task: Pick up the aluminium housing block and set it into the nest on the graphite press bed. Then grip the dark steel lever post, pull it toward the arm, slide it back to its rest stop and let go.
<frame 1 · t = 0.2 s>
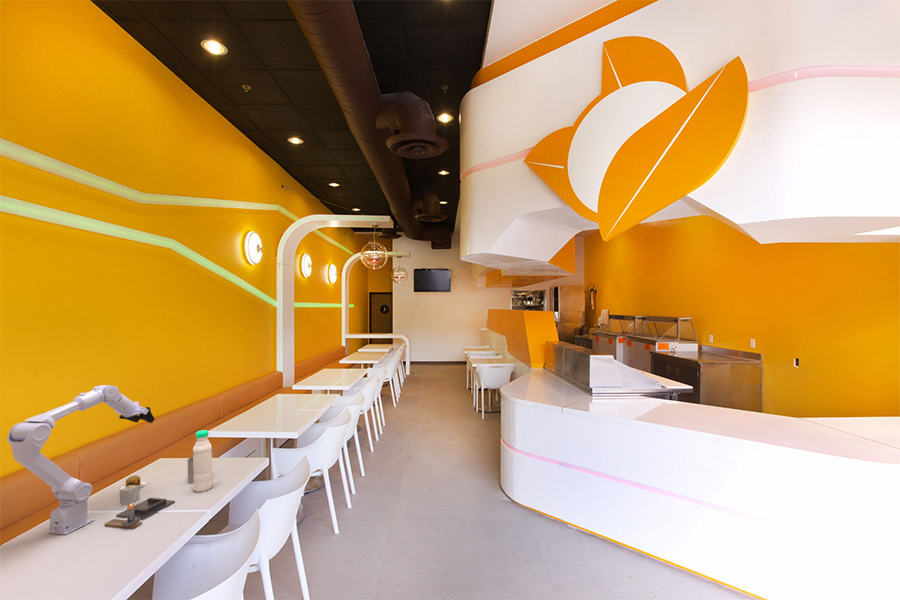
hand: (145, 420, 172), 31 cm above the table, tool tilted 45°, fingers open, 7 cm apart
housing: (129, 502, 162), on the table
cup: (198, 480, 182), on the table
burger on plate: (133, 489, 176), on the table
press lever: (131, 513, 143), point 5 cm above the table, slide at 0.0 cm
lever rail: (123, 525, 144), on the table
press bed: (146, 509, 155), on the table
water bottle: (203, 489, 172), on the table
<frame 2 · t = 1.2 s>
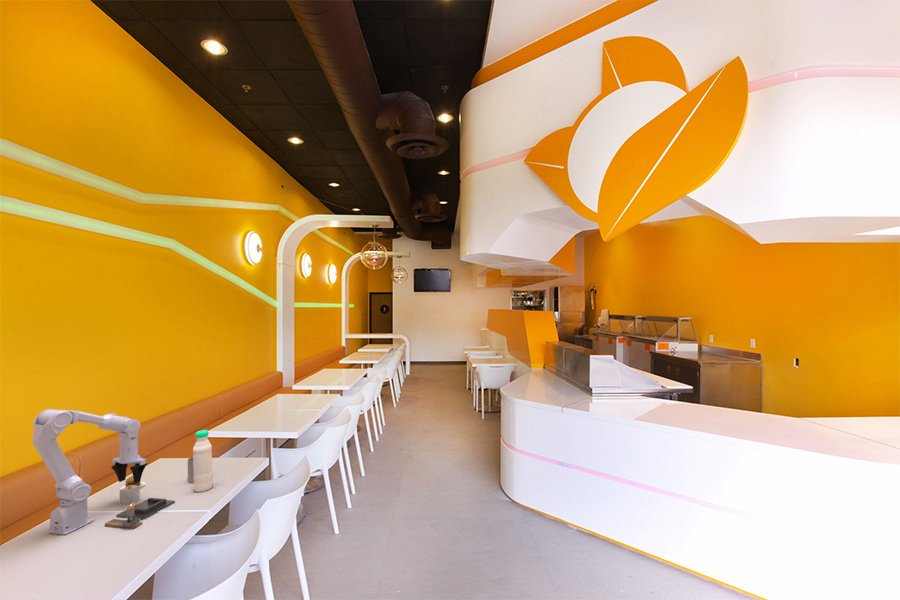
hand: (129, 481, 162), 9 cm above the table, tool pointing down, fingers open, 7 cm apart
nothing on the table moved.
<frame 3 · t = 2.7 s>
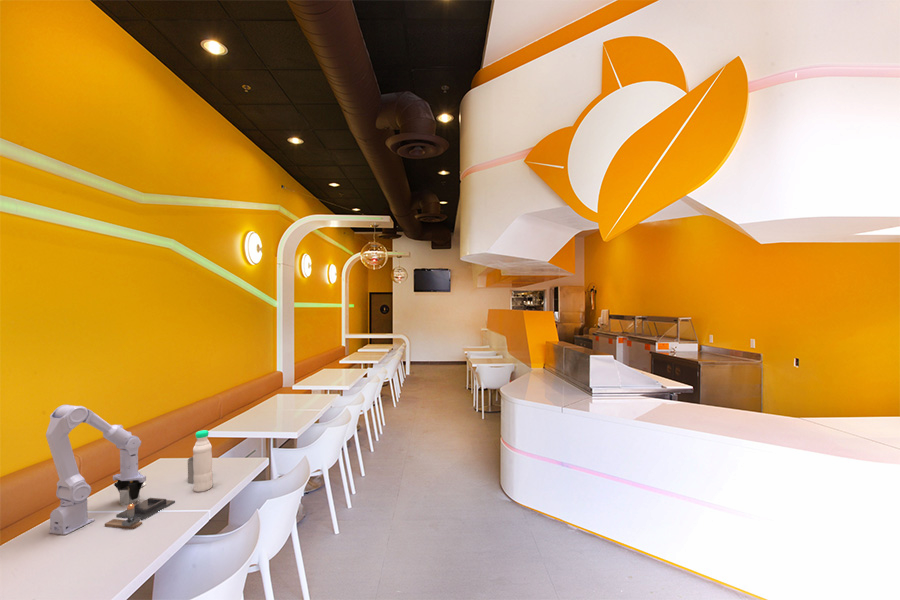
hand: (129, 498, 162), 2 cm above the table, tool pointing down, fingers closed on housing, 4 cm apart
housing: (129, 502, 162), on the table, touching gripper
everything else where it was.
when the fingers open (4 cm above the table, at t = 6.1 s): housing stays where it is, resting on press bed.
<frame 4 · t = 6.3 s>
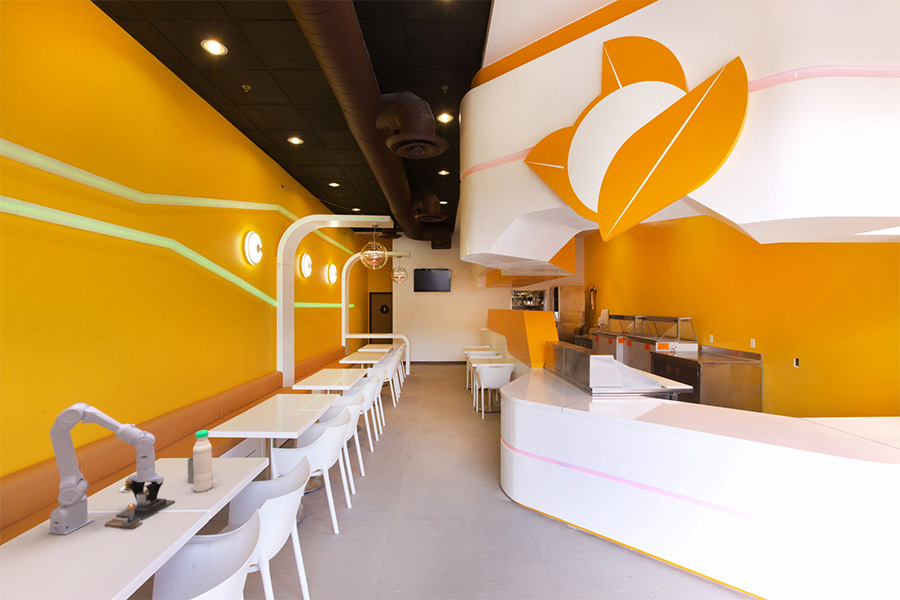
hand: (146, 500, 155), 4 cm above the table, tool pointing down, fingers open, 6 cm apart
housing: (146, 507, 155), point 1 cm above the table, touching press bed
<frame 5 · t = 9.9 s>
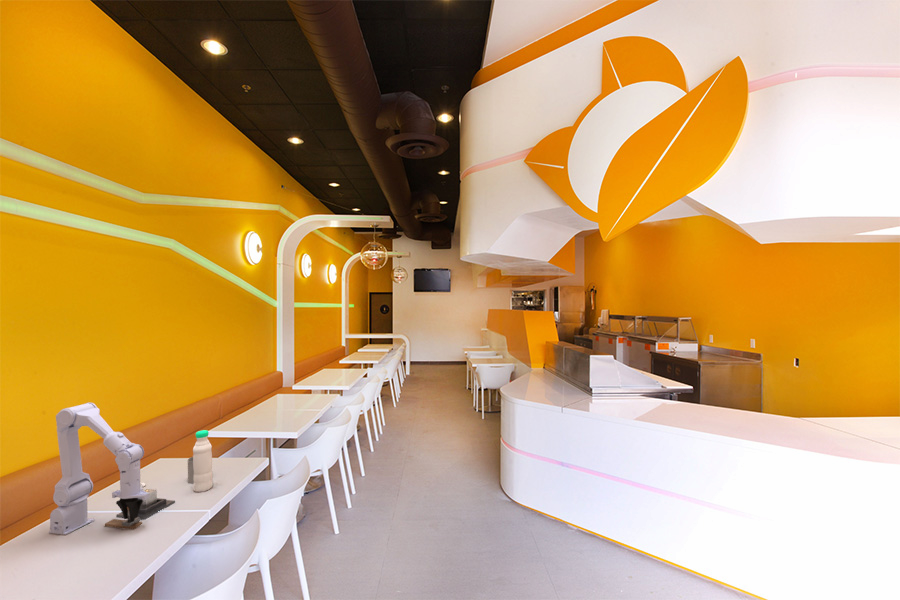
hand: (131, 518, 143), 3 cm above the table, tool pointing down, fingers closed on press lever, 2 cm apart
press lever: (131, 513, 143), point 5 cm above the table, slide at 0.0 cm, touching gripper
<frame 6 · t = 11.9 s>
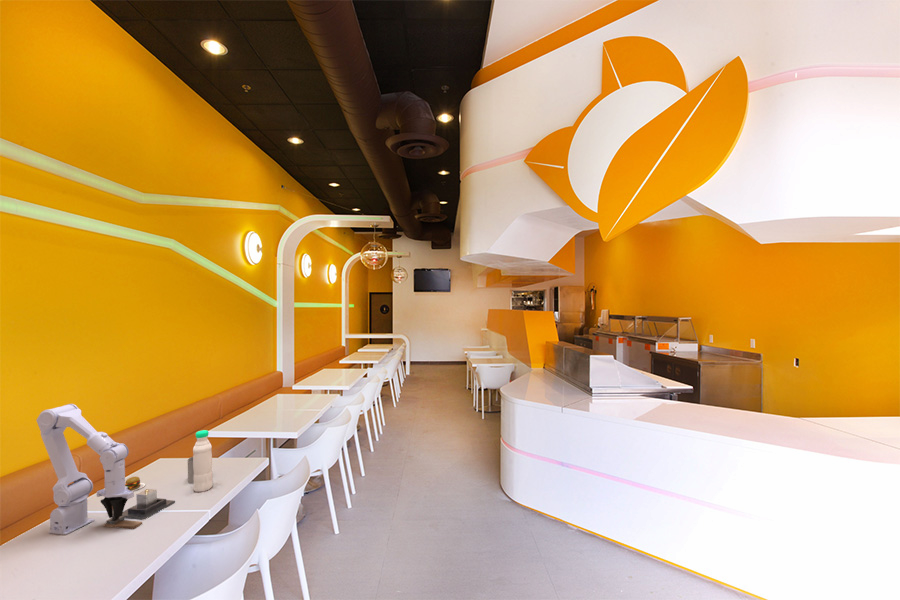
hand: (115, 516, 145), 3 cm above the table, tool pointing down, fingers closed on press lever, 2 cm apart
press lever: (115, 512, 145), point 5 cm above the table, slide at 7.0 cm, touching gripper
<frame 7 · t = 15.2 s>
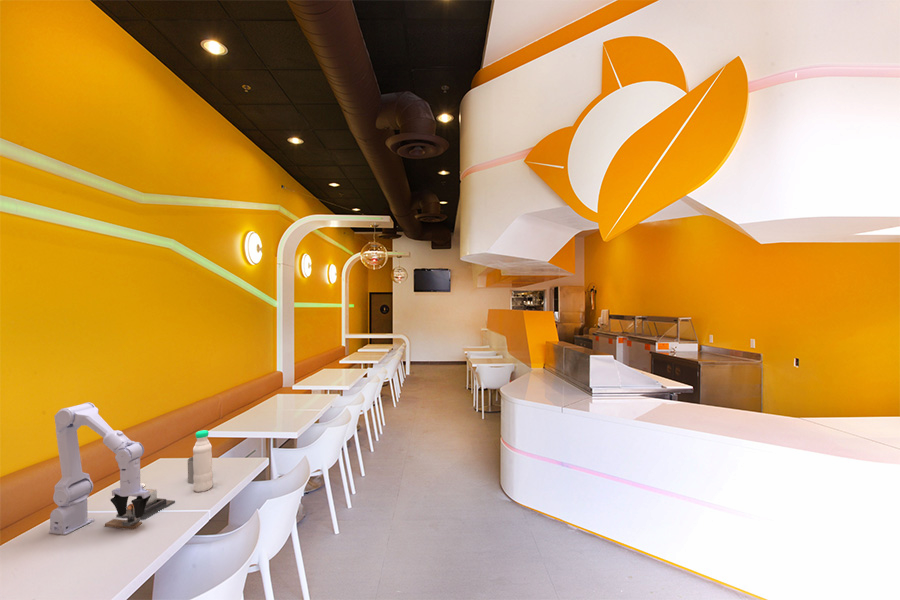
hand: (130, 516, 143), 4 cm above the table, tool pointing down, fingers open, 7 cm apart
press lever: (131, 513, 143), point 5 cm above the table, slide at 0.0 cm
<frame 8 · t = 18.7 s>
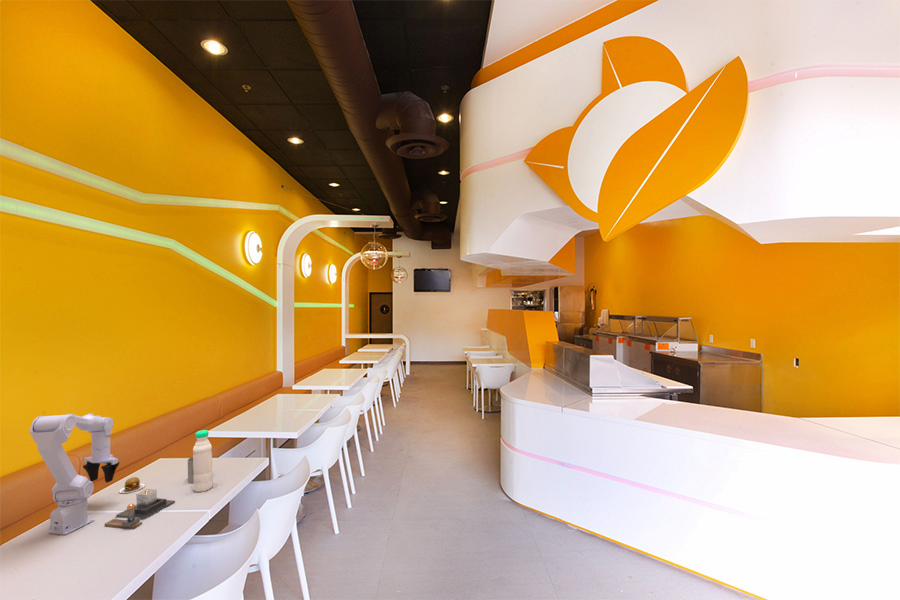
hand: (101, 481, 160), 10 cm above the table, tool pointing down, fingers open, 7 cm apart
at the end: housing 0.2 cm off-centre on the press bed, point 0.8 cm above the press bed's base; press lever slide at 0.0 cm; housing tilted 0° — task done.
